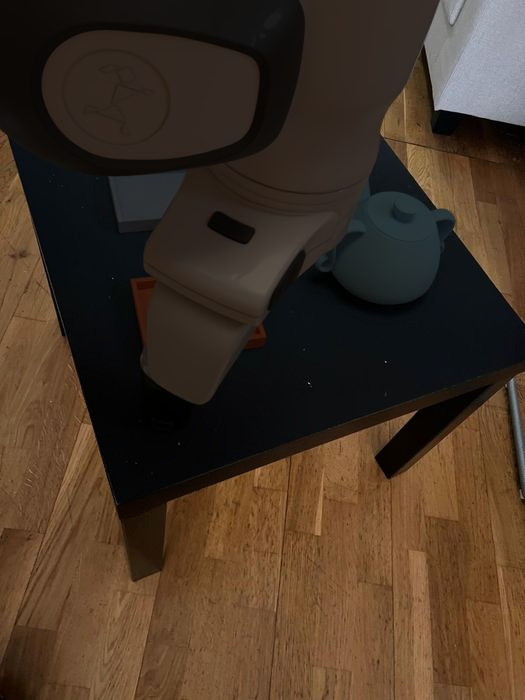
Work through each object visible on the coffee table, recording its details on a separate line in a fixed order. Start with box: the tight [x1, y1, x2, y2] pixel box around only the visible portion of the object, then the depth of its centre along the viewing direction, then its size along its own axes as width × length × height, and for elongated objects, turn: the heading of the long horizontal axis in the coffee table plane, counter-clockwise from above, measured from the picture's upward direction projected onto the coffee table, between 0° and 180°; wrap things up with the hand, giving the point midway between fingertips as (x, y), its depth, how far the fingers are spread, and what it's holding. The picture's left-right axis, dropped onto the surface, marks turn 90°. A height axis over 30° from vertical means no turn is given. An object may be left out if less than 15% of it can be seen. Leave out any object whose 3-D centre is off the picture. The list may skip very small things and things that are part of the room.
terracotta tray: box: [130, 276, 267, 351], centre depth 65 cm, size 14×11×2 cm
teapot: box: [314, 178, 457, 306], centre depth 72 cm, size 20×20×13 cm
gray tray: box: [106, 169, 187, 234], centre depth 76 cm, size 14×11×2 cm
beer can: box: [139, 342, 194, 433], centre depth 54 cm, size 5×5×12 cm
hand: (243, 329), depth 40 cm, fingers open, 8 cm apart
